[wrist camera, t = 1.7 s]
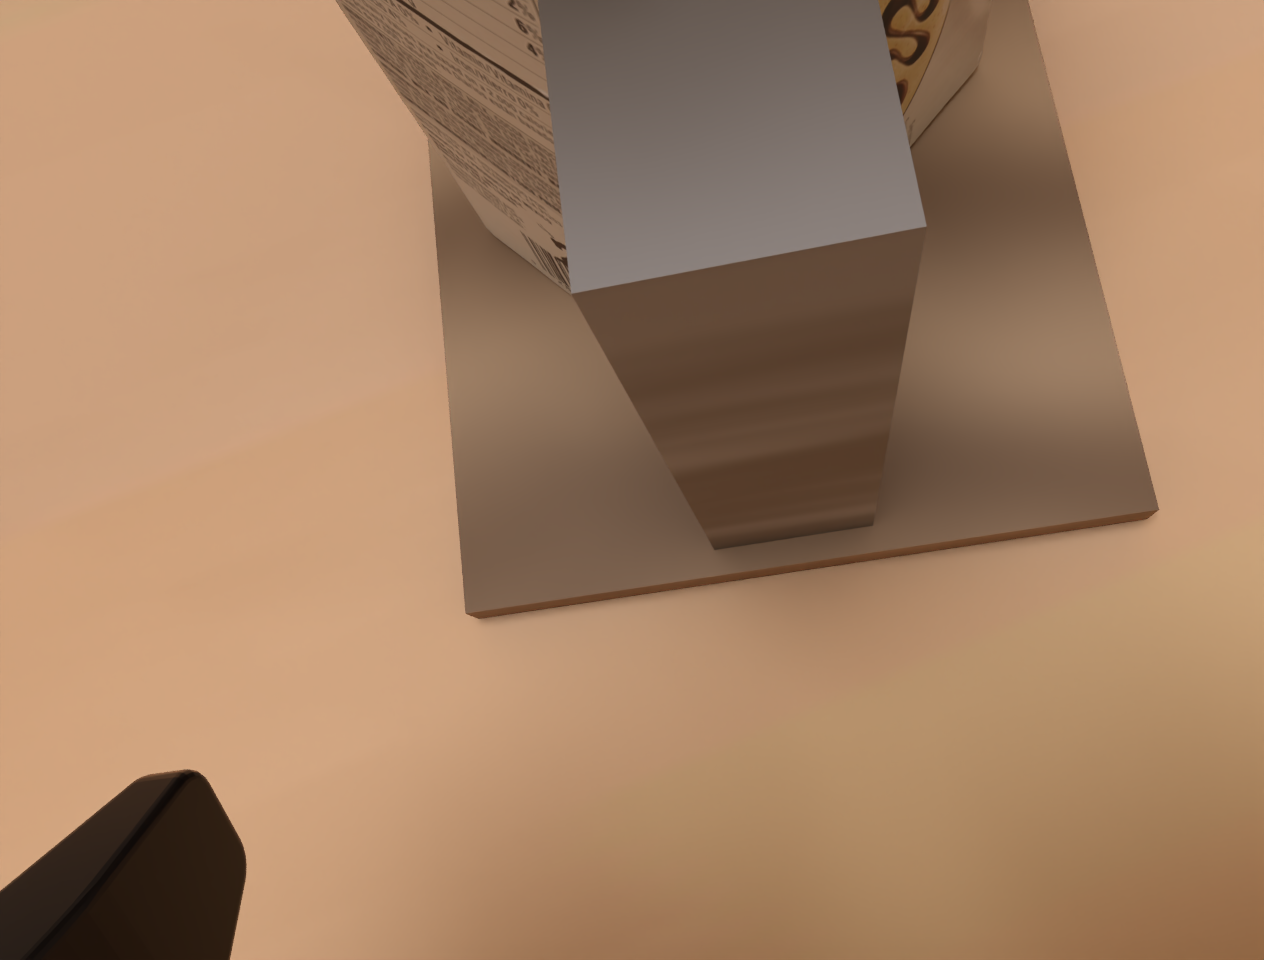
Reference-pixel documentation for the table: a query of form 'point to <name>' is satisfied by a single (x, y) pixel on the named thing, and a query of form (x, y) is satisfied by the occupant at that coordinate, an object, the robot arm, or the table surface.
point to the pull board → (953, 411)
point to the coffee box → (519, 102)
